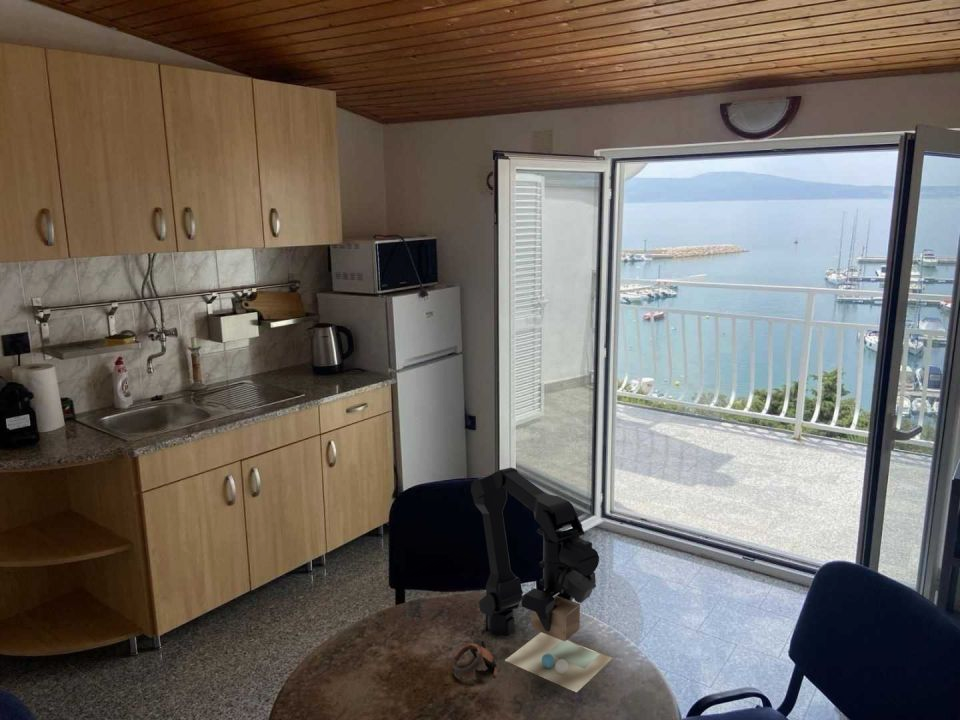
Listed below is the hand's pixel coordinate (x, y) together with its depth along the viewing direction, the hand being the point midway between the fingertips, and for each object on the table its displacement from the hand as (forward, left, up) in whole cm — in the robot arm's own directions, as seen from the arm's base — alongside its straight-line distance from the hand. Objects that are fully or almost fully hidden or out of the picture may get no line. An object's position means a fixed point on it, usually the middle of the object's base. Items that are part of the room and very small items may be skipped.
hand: (555, 624), depth 156 cm
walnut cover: (0, 0, -1) cm, 1 cm away
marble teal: (-2, 0, -11) cm, 11 cm away
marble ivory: (+2, 0, -11) cm, 11 cm away
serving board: (-2, +4, -12) cm, 13 cm away
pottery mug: (-14, -11, -12) cm, 21 cm away
